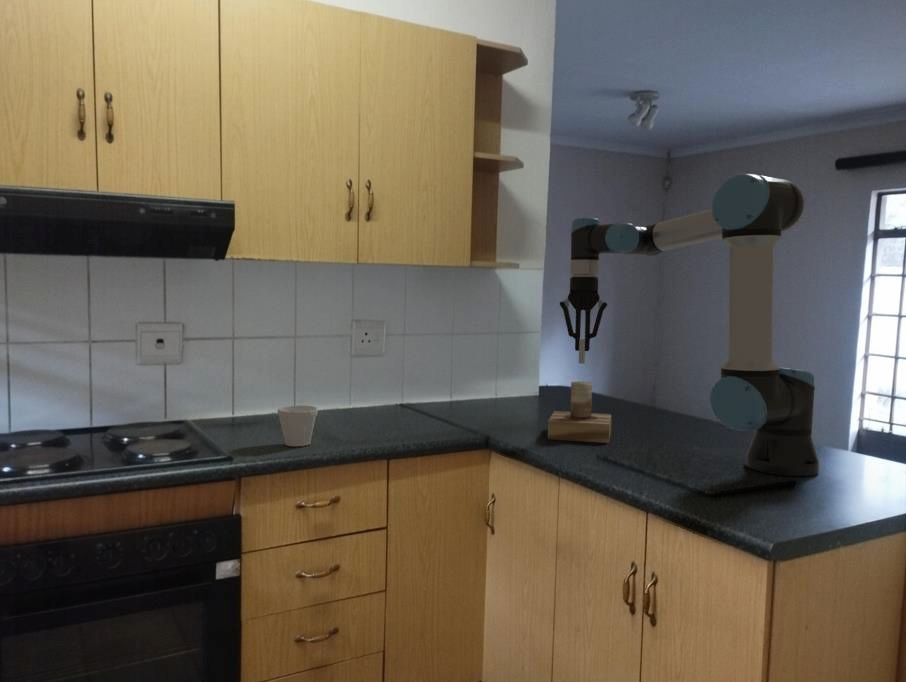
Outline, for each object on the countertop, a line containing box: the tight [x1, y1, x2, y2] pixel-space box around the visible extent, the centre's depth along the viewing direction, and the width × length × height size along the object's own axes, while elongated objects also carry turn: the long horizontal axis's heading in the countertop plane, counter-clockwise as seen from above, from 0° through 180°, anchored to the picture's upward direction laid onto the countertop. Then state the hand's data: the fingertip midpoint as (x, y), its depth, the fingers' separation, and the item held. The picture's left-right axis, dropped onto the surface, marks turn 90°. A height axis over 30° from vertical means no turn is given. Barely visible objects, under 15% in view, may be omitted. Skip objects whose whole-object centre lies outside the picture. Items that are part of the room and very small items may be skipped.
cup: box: [277, 405, 319, 448], centre depth 180 cm, size 10×10×9 cm
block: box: [547, 410, 612, 444], centre depth 195 cm, size 15×16×5 cm
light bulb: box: [570, 381, 593, 419], centre depth 195 cm, size 6×6×14 cm
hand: (581, 362), depth 194 cm, fingers closed
